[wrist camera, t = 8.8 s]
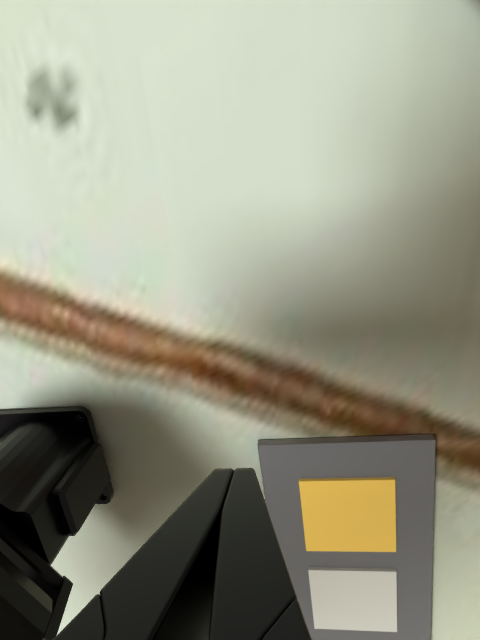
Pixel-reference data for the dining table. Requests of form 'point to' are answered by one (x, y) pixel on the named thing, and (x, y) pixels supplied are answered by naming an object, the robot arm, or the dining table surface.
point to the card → (355, 531)
